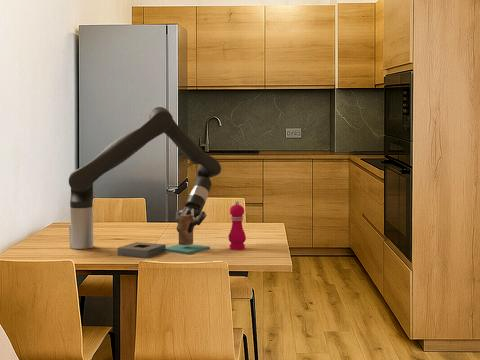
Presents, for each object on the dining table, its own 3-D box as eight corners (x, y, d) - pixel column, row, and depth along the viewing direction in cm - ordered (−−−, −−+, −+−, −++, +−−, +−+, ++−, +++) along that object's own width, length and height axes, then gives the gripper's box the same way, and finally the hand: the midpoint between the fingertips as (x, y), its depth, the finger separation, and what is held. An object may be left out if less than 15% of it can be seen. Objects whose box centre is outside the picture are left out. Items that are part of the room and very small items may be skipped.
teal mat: (162, 250, 316) (162, 248, 316) (183, 245, 328) (183, 243, 328) (188, 254, 308) (188, 251, 308) (209, 248, 320) (209, 246, 320)
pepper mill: (237, 250, 315) (237, 202, 313) (224, 248, 320) (224, 201, 318) (249, 248, 320) (249, 200, 319) (236, 246, 325) (236, 199, 323)
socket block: (117, 255, 307) (117, 247, 307) (136, 249, 320) (136, 242, 320) (147, 258, 301) (147, 250, 301) (165, 251, 314) (165, 244, 314)
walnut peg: (178, 244, 317) (178, 215, 316) (183, 242, 321) (183, 214, 319) (188, 245, 315) (187, 216, 314) (193, 243, 319) (192, 215, 318)
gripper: (179, 192, 325) (165, 225, 316) (209, 194, 319) (195, 227, 310) (185, 203, 331) (171, 235, 321) (215, 205, 325) (202, 238, 315)
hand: (183, 231), depth 315 cm, fingers closed on walnut peg, 4 cm apart
